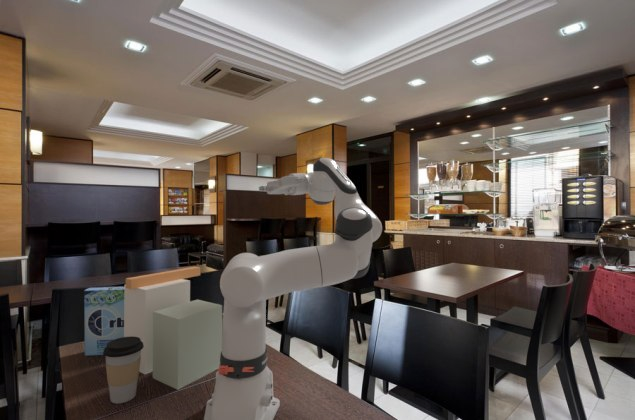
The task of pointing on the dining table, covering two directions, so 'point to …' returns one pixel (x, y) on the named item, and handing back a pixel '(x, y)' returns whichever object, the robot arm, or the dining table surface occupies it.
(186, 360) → the low stand
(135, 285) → the orange rod
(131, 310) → the tall stand
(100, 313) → the gum box
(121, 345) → the coffee cup
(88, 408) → the dining table surface
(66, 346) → the dining table surface
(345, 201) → the robot arm
